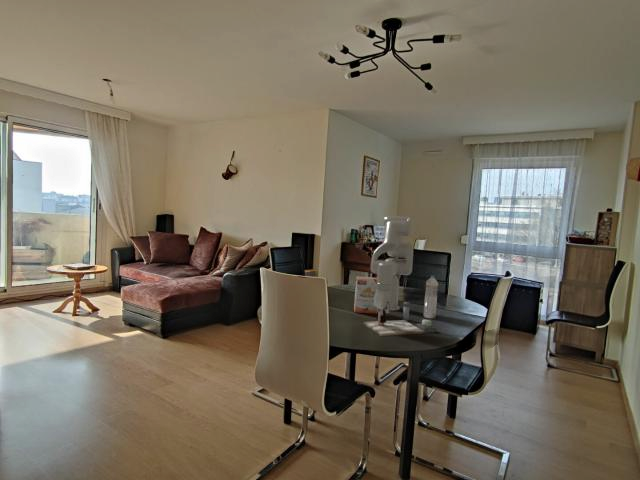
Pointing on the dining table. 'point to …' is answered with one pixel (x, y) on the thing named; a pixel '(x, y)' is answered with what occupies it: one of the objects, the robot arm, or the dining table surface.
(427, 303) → the water bottle
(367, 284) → the cracker box
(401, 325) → the worksheet
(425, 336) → the dining table surface
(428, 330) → the button housing
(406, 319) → the slate
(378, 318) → the marker terracotta
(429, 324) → the button
